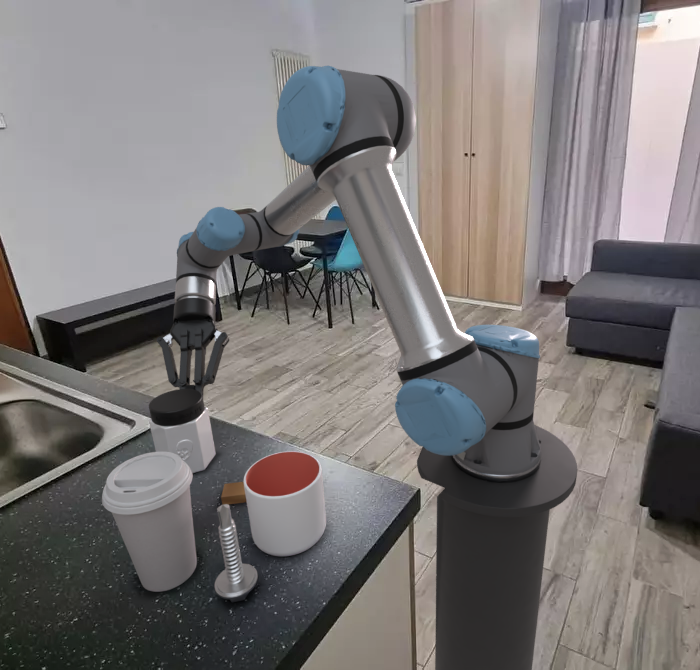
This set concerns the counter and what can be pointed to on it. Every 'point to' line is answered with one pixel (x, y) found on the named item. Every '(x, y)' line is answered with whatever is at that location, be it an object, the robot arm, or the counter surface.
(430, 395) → the robot arm
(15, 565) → the counter surface
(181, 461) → the coffee cup
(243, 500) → the brown wooden bar
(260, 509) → the cup
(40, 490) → the counter surface
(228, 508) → the screw
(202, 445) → the jar
